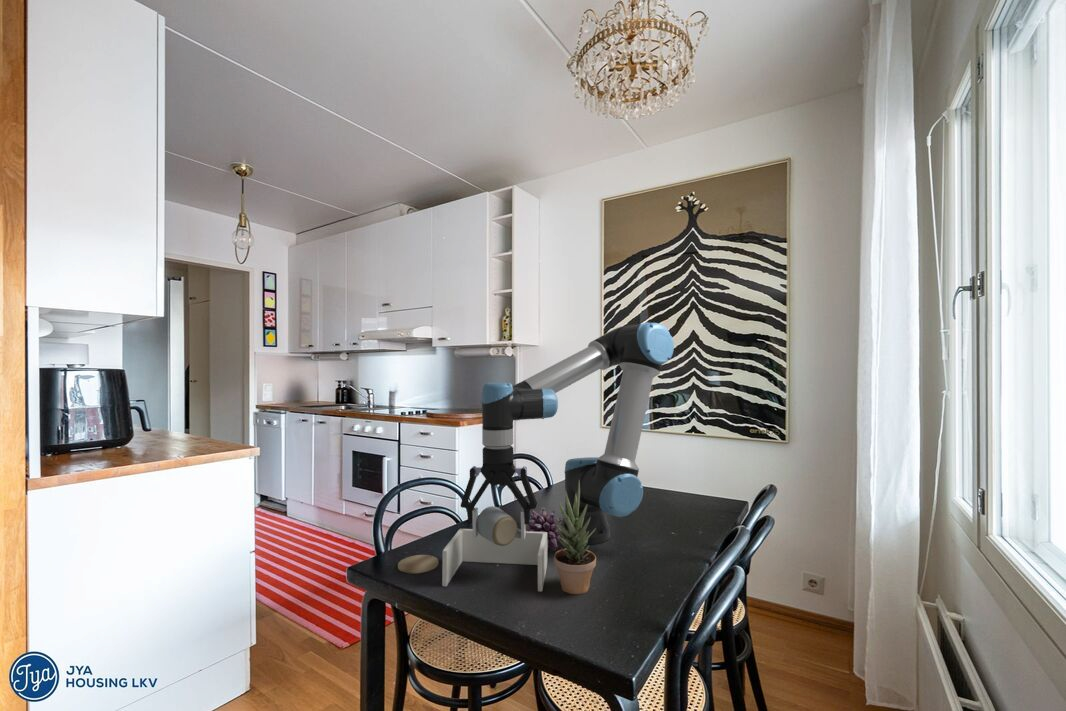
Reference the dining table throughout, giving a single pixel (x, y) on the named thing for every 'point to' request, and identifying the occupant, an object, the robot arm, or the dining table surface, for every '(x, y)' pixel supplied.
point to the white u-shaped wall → (495, 553)
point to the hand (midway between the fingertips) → (499, 536)
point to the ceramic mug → (497, 526)
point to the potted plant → (574, 550)
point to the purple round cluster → (545, 526)
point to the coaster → (418, 564)
